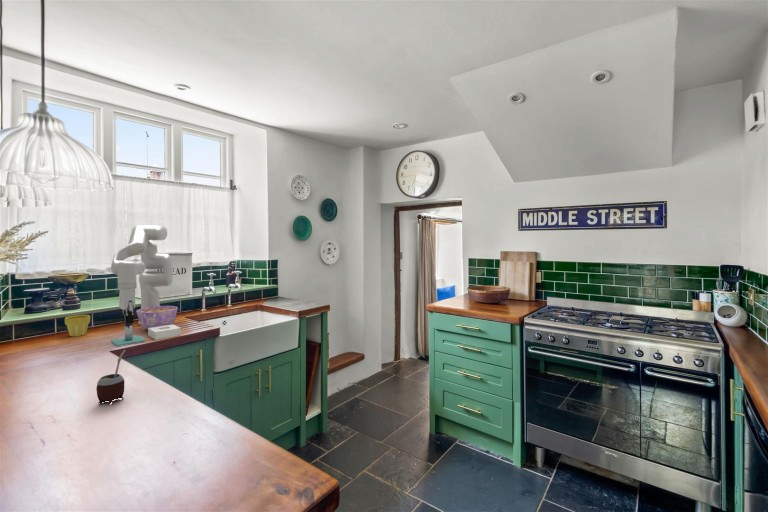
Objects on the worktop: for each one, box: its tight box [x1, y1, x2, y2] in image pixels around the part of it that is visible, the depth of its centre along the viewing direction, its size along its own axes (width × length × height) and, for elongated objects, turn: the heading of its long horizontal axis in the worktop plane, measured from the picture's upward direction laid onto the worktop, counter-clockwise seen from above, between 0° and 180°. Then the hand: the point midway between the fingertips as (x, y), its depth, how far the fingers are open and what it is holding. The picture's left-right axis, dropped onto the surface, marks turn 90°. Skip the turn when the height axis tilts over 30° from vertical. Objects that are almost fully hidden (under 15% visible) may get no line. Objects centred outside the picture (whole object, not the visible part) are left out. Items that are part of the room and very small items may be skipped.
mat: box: [110, 335, 147, 347], centre depth 180 cm, size 12×12×1 cm
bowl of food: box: [136, 305, 178, 330], centre depth 205 cm, size 20×20×12 cm
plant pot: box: [64, 314, 91, 337], centre depth 192 cm, size 10×10×10 cm
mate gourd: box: [95, 349, 127, 404], centre depth 114 cm, size 8×8×15 cm
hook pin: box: [123, 314, 133, 341], centre depth 180 cm, size 3×3×13 cm
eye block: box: [147, 323, 182, 341], centre depth 192 cm, size 12×12×4 cm
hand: (128, 322), depth 180 cm, fingers open, 4 cm apart
